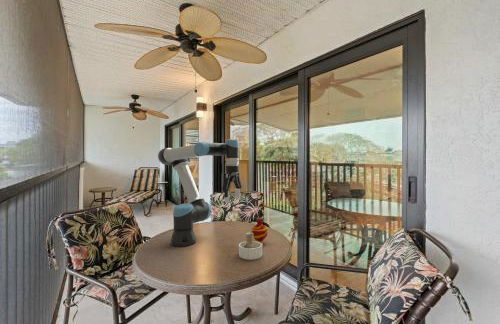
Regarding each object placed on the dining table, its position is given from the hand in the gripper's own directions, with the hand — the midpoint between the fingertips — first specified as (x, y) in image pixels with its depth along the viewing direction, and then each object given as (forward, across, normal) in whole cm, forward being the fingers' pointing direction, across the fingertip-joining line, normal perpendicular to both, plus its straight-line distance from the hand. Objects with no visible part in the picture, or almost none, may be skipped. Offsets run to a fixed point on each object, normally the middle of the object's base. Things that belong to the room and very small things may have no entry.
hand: (232, 200), depth 152 cm
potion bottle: (+27, +11, -13) cm, 32 cm away
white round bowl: (+27, -10, -16) cm, 33 cm away
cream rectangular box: (+26, -10, -16) cm, 32 cm away
